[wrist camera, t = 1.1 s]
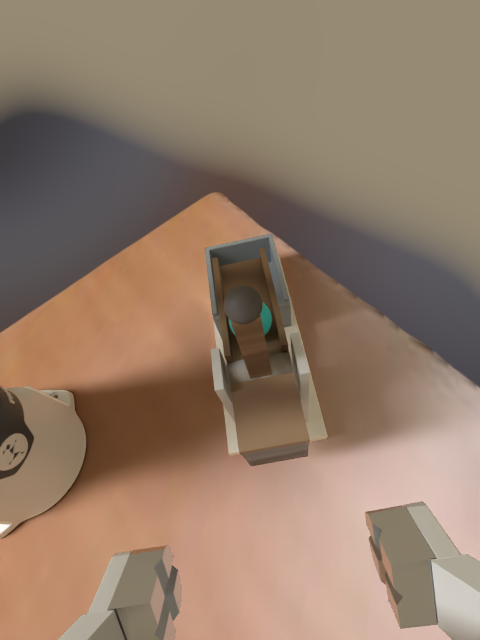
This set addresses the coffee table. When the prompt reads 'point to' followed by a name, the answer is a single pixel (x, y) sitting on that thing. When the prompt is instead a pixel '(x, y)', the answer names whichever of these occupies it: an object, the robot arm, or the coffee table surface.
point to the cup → (245, 252)
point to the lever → (259, 365)
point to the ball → (265, 319)
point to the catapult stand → (301, 376)
